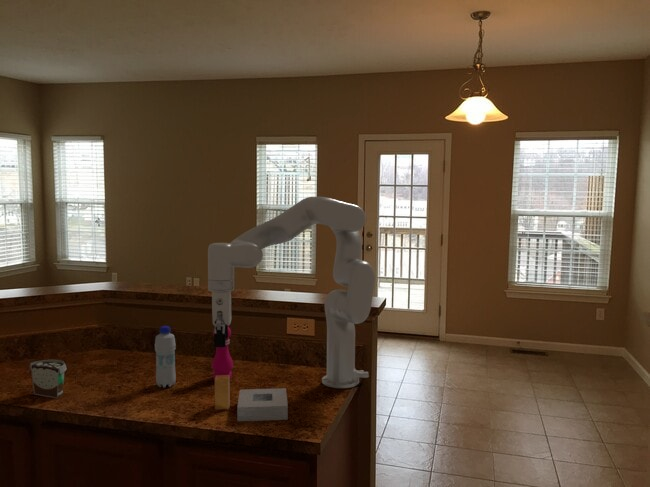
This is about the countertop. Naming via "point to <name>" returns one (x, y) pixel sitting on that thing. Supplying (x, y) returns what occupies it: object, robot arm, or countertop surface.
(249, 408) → the white flat block
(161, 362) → the bottle
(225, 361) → the pepper mill
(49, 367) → the food container
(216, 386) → the wooden block
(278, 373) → the countertop surface
